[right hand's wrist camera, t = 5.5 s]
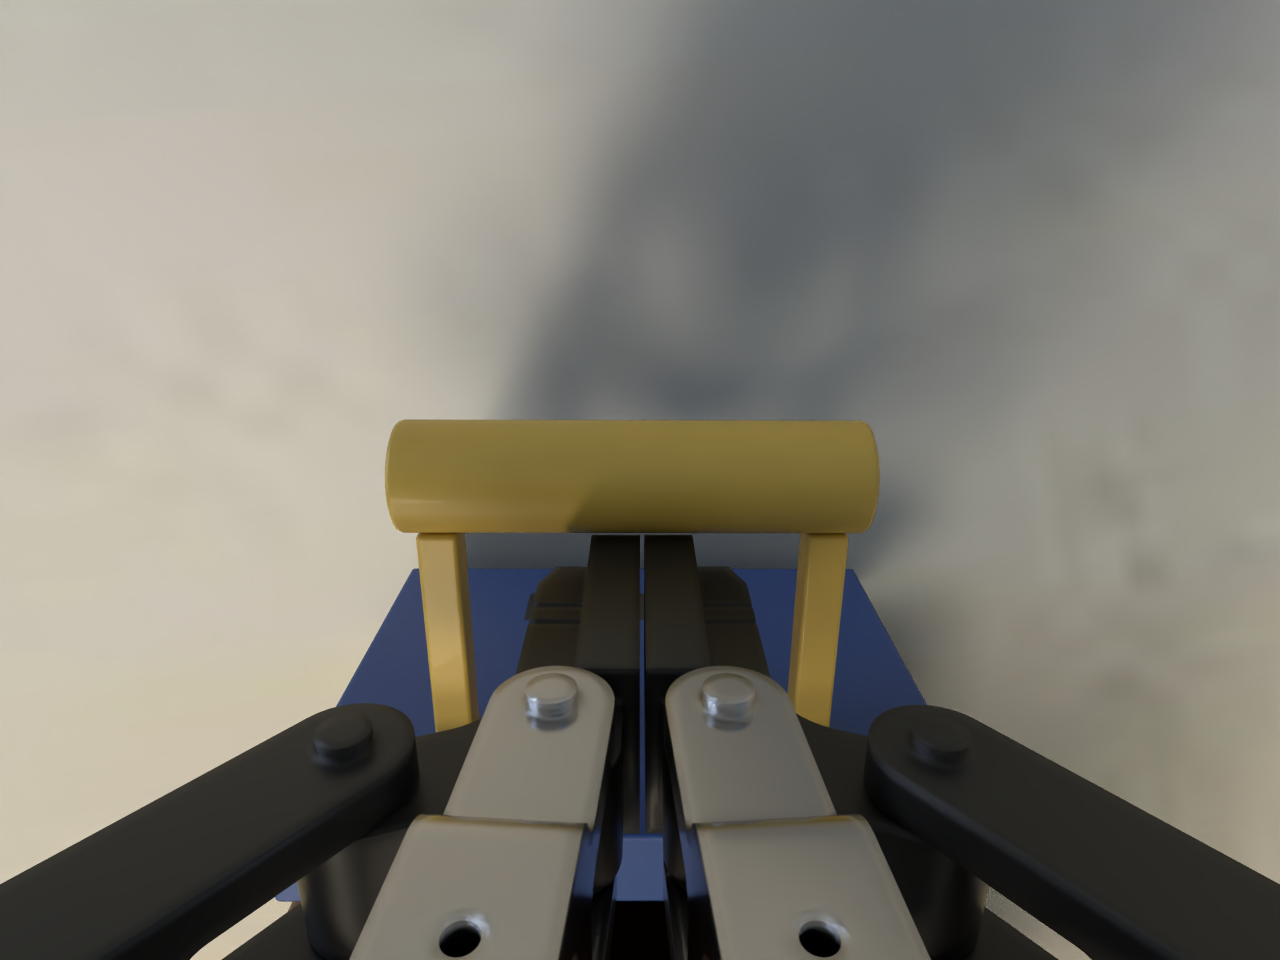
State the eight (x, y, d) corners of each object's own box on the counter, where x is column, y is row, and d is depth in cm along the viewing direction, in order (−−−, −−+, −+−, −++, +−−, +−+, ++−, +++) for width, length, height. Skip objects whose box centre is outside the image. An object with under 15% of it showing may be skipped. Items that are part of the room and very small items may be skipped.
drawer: (388, 339, 17) (187, 477, 9) (877, 341, 17) (1073, 479, 9) (456, 991, 23) (371, 1382, 16) (808, 990, 23) (890, 1379, 16)
